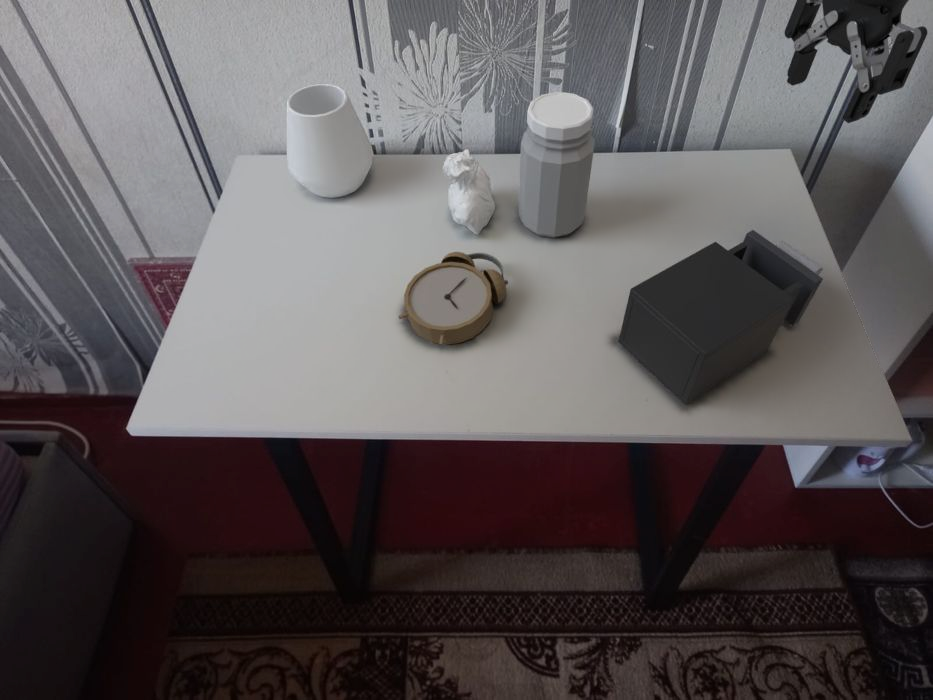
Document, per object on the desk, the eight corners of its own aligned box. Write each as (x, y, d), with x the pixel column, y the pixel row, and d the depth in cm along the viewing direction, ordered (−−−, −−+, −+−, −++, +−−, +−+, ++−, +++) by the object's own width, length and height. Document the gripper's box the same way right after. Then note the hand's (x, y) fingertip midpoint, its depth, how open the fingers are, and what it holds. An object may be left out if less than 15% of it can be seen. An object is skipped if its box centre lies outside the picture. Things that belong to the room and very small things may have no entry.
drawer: (757, 261, 88) (776, 216, 82) (821, 307, 83) (847, 263, 77) (665, 314, 83) (679, 270, 77) (728, 368, 78) (748, 325, 71)
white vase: (276, 183, 104) (250, 103, 93) (339, 144, 110) (322, 65, 99) (331, 218, 98) (310, 137, 88) (395, 175, 104) (383, 95, 93)
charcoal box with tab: (696, 295, 86) (715, 241, 79) (766, 352, 80) (794, 299, 72) (618, 341, 82) (630, 288, 74) (685, 405, 76) (706, 354, 68)
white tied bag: (476, 200, 103) (429, 149, 97) (515, 179, 99) (468, 124, 93) (463, 253, 96) (411, 200, 90) (504, 232, 91) (452, 176, 85)
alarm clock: (384, 304, 83) (458, 226, 88) (393, 324, 87) (463, 249, 92) (450, 346, 78) (525, 262, 83) (457, 366, 83) (528, 285, 87)
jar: (588, 240, 93) (604, 129, 79) (519, 242, 94) (524, 132, 80) (580, 197, 99) (594, 86, 85) (516, 198, 100) (520, 89, 86)
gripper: (989, -44, 56) (898, 124, 69) (864, -95, 65) (803, 63, 77) (924, -26, 55) (843, 143, 67) (803, -81, 63) (752, 79, 76)
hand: (822, 100), depth 72 cm, fingers open, 8 cm apart
